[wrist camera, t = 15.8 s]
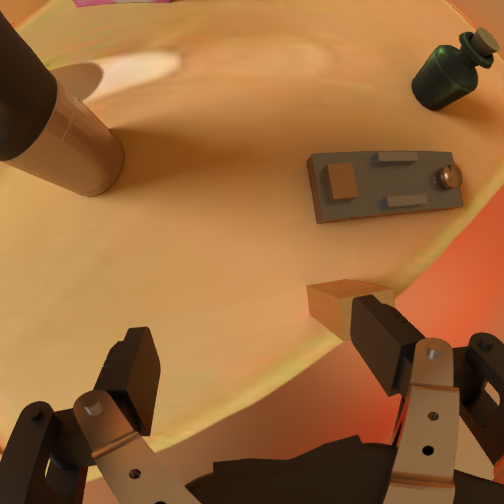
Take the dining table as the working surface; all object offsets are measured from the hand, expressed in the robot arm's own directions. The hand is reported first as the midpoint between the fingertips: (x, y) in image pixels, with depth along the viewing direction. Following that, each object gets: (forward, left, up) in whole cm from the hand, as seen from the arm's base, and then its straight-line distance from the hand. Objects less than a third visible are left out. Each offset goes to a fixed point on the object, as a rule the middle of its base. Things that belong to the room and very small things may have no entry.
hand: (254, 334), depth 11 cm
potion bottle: (-19, +37, -25) cm, 49 cm away
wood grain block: (+5, +9, -25) cm, 27 cm away
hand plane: (-6, +22, -25) cm, 34 cm away
